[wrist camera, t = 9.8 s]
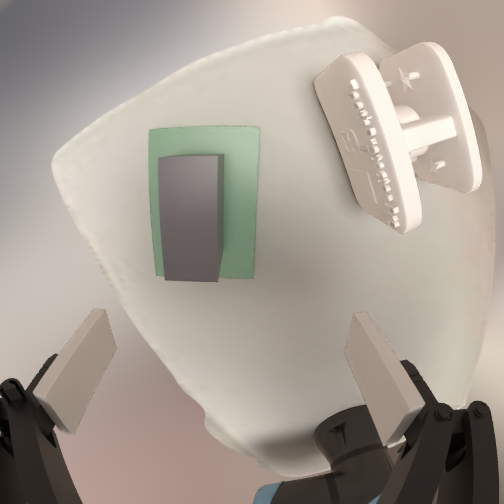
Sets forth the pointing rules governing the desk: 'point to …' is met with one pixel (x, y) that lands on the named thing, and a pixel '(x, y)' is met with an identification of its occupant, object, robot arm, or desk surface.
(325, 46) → the desk surface
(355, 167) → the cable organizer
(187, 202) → the block
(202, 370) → the desk surface
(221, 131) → the board
